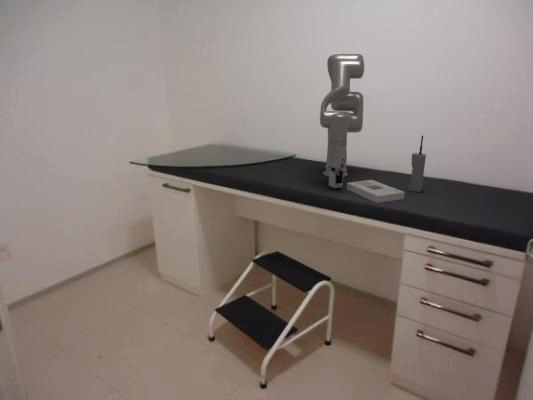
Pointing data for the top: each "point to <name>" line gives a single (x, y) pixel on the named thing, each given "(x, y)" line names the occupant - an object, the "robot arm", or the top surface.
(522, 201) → the top surface
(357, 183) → the outlet plate
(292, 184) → the top surface
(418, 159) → the vintage mobile phone
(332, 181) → the charger block
